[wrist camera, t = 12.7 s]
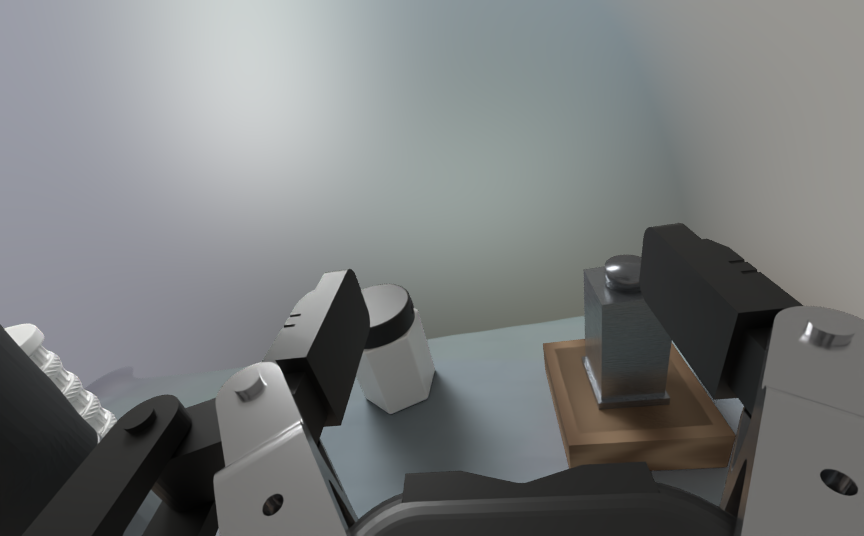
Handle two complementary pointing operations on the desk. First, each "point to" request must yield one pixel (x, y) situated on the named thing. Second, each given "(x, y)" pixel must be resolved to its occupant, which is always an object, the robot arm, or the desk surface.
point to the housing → (623, 338)
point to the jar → (394, 351)
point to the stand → (636, 419)
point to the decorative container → (62, 377)
